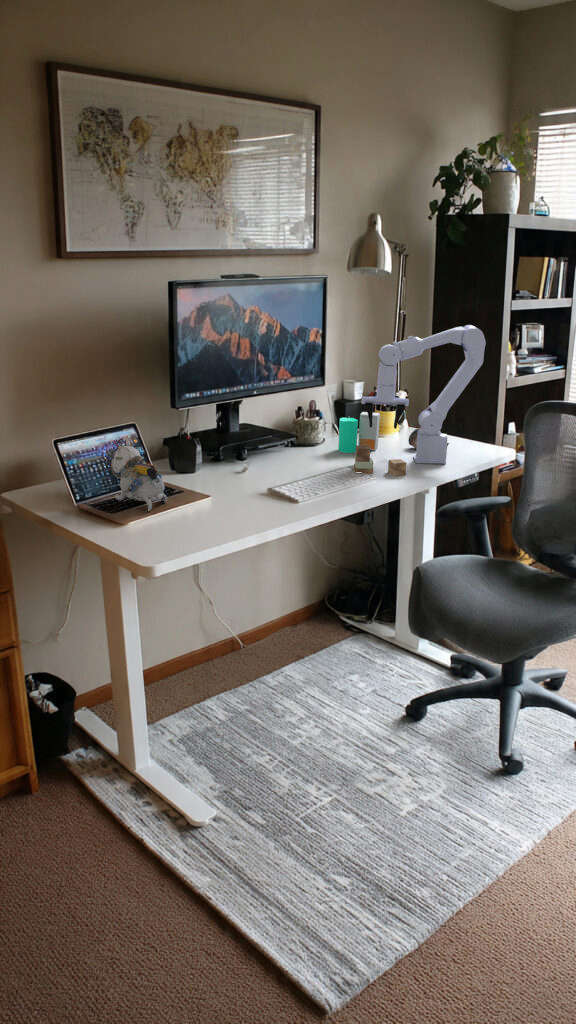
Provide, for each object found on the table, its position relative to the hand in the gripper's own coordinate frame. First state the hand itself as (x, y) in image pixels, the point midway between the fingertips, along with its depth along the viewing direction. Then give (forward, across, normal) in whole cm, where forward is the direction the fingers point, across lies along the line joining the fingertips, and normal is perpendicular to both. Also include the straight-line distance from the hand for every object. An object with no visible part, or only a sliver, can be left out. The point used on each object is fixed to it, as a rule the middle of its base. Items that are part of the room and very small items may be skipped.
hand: (382, 427), depth 263 cm
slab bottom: (+11, +6, +14) cm, 19 cm away
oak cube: (+10, -4, +16) cm, 19 cm away
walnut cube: (+7, +7, +14) cm, 17 cm away
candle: (+11, +10, -10) cm, 18 cm away
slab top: (+9, +6, +14) cm, 18 cm away
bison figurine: (+10, -17, -13) cm, 23 cm away
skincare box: (+11, +3, -13) cm, 17 cm away
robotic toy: (+12, +67, +51) cm, 85 cm away
